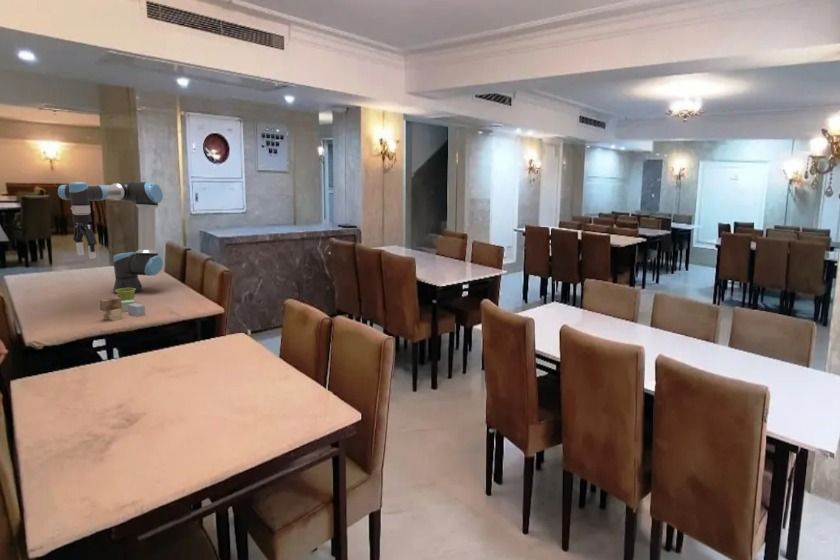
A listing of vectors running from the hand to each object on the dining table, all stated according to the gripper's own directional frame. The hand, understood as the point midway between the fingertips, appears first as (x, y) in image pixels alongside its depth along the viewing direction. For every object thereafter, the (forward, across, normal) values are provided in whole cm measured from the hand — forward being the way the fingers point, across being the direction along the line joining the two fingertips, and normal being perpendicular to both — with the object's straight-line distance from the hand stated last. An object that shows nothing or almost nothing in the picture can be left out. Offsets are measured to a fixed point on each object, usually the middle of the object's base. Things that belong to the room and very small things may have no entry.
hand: (86, 256), depth 252 cm
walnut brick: (+24, +19, +1) cm, 30 cm away
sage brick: (+29, +9, +12) cm, 33 cm away
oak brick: (+29, +19, +1) cm, 34 cm away
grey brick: (+29, +20, +12) cm, 37 cm away
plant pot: (+29, -1, +17) cm, 34 cm away
